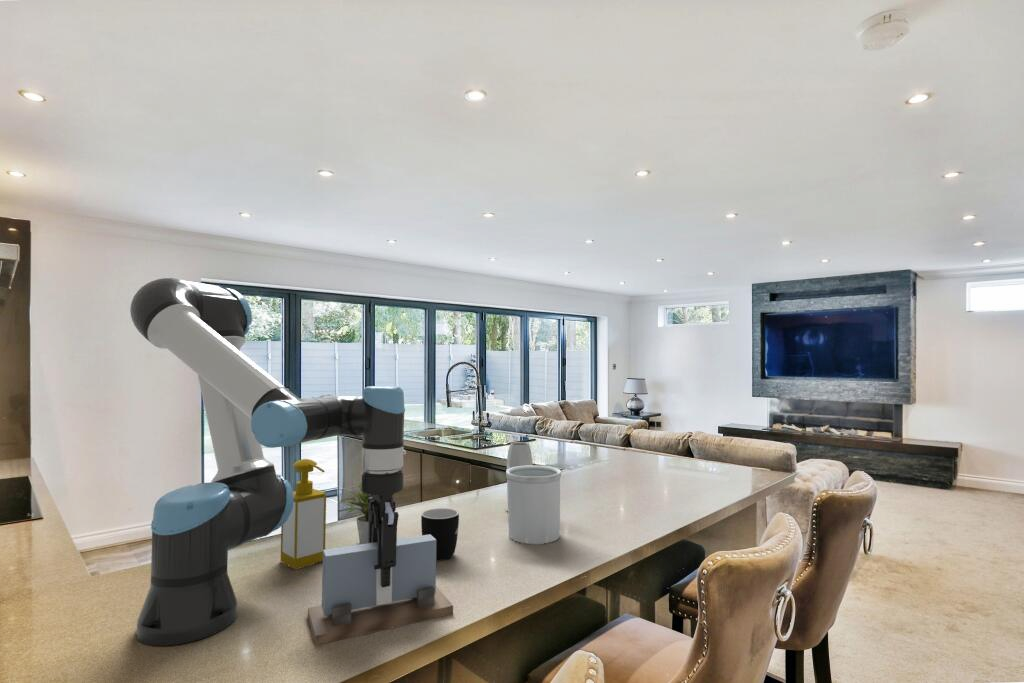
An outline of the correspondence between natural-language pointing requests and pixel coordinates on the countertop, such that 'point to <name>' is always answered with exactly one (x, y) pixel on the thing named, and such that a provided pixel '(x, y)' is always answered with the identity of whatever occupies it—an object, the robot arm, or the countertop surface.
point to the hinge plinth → (376, 616)
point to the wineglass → (518, 455)
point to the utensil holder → (533, 503)
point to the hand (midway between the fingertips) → (380, 597)
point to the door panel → (356, 577)
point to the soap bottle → (304, 522)
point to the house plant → (364, 519)
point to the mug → (441, 530)
